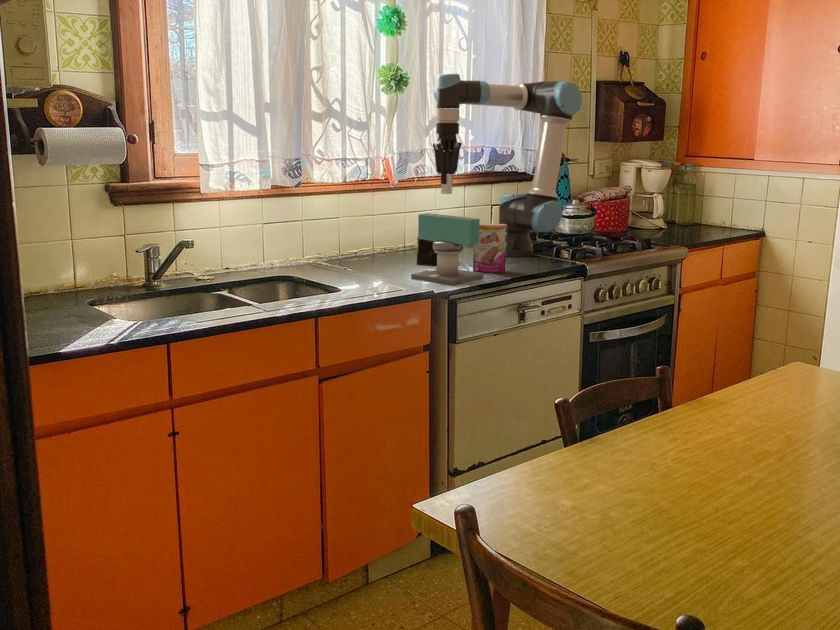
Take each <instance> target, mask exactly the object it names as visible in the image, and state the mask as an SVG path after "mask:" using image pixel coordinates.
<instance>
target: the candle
mask: <svg viewBox="0 0 840 630" xmlns="http://www.w3.org/2000/svg"><path fill="white" fill-rule="evenodd" d="M416 239H417V253H416V265H421V266H432V267H437V253H435V252H434V249H433V241H432V240H424V239H418V236H417V238H416Z"/></svg>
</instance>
